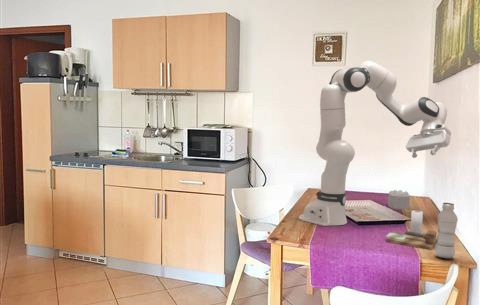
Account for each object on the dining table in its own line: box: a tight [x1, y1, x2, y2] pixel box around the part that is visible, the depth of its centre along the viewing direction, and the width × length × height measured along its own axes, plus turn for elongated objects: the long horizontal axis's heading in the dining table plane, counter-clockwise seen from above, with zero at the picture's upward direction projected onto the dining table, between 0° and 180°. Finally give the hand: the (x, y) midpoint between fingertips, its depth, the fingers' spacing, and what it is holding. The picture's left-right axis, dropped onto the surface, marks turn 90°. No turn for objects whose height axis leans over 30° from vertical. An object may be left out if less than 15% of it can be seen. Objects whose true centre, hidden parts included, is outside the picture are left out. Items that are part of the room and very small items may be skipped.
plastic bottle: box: [434, 202, 459, 260], centre depth 157 cm, size 6×7×20 cm
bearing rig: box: [385, 229, 437, 251], centre depth 176 cm, size 18×12×5 cm, turn 56°
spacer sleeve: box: [409, 210, 424, 234], centre depth 186 cm, size 4×4×10 cm
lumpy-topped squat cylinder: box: [387, 189, 411, 210], centre depth 238 cm, size 10×13×9 cm
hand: (423, 155), depth 198 cm, fingers open, 8 cm apart
